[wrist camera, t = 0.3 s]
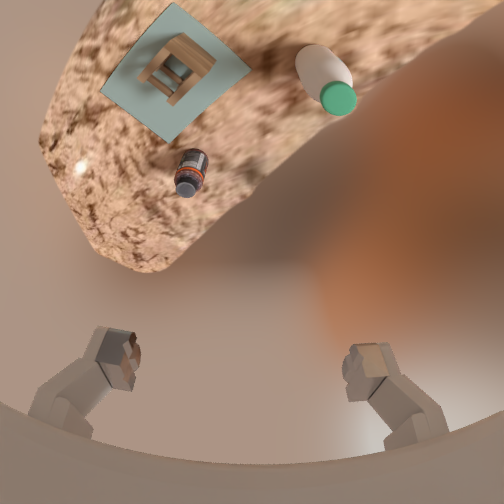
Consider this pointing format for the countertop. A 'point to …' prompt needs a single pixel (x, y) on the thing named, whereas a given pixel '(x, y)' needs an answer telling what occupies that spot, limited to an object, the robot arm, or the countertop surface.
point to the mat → (152, 99)
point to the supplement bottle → (191, 173)
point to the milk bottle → (326, 79)
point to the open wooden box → (185, 53)
